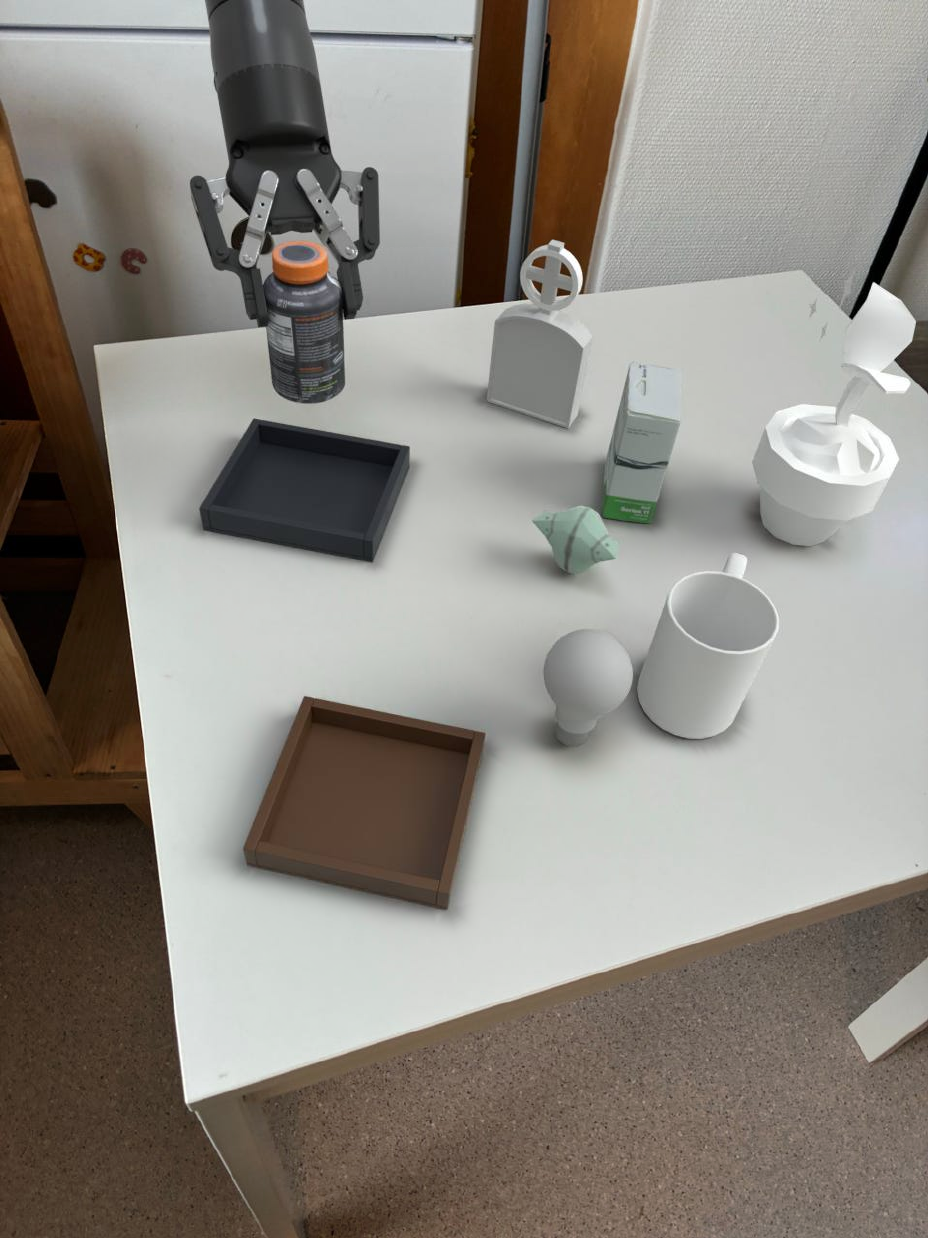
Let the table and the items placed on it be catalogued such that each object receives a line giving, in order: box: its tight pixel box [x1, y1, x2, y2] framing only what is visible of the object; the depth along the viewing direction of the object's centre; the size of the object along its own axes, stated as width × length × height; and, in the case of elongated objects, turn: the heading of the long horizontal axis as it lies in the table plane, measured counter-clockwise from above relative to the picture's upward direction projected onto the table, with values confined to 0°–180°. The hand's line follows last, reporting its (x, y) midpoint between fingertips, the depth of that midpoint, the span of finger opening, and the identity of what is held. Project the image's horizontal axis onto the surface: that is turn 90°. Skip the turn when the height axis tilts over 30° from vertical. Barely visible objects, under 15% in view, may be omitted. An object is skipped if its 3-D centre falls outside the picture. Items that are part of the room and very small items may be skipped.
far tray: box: [198, 418, 411, 563], centre depth 83 cm, size 16×14×3 cm
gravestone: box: [486, 239, 594, 429], centre depth 89 cm, size 3×9×18 cm, turn 64°
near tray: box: [242, 695, 486, 911], centre depth 62 cm, size 14×13×2 cm
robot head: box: [531, 505, 620, 576], centre depth 78 cm, size 8×4×7 cm, turn 58°
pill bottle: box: [262, 240, 346, 405], centre depth 69 cm, size 6×6×11 cm
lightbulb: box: [542, 628, 634, 747], centre depth 64 cm, size 6×6×11 cm
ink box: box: [601, 361, 682, 524], centre depth 83 cm, size 9×5×12 cm, turn 171°
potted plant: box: [751, 264, 917, 547], centre depth 76 cm, size 13×12×25 cm
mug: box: [636, 552, 780, 740], centre depth 69 cm, size 12×8×10 cm, turn 157°
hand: (307, 319), depth 67 cm, fingers closed on pill bottle, 6 cm apart
